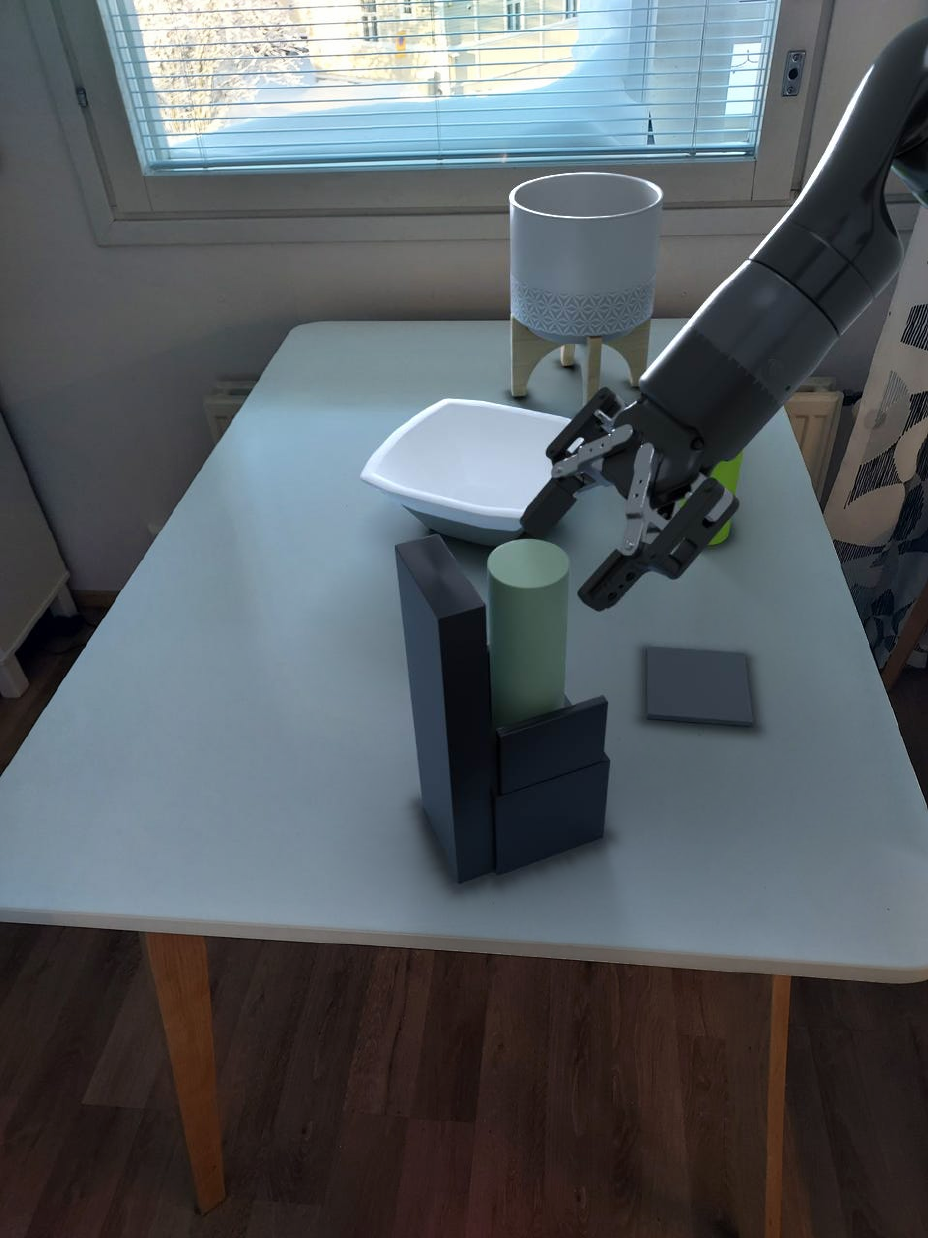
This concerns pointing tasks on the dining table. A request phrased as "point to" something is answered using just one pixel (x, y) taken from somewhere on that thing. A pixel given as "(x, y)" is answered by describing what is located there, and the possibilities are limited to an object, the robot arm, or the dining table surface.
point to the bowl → (468, 467)
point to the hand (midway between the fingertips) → (556, 565)
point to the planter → (582, 272)
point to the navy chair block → (490, 734)
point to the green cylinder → (527, 629)
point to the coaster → (698, 686)
